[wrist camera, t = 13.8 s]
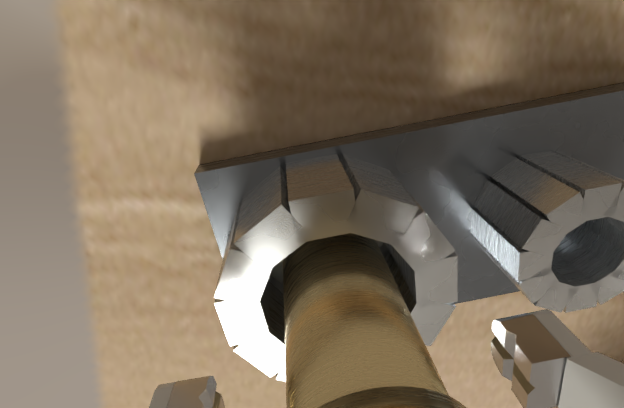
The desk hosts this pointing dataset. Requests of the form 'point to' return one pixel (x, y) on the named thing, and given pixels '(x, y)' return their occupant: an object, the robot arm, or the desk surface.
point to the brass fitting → (352, 332)
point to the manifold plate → (431, 213)
